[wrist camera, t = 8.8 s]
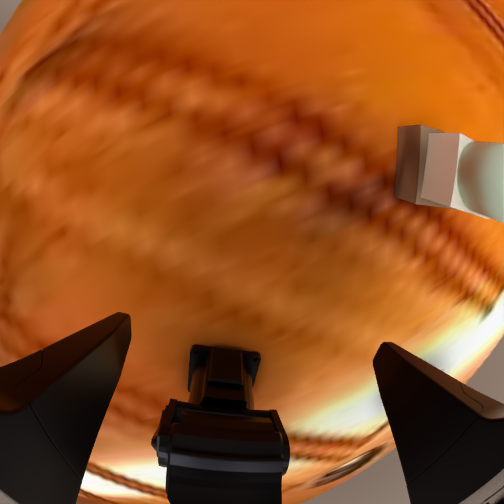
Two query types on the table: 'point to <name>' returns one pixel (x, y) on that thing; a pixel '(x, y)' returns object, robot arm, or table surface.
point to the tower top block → (444, 170)
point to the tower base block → (413, 164)
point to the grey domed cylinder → (482, 178)
